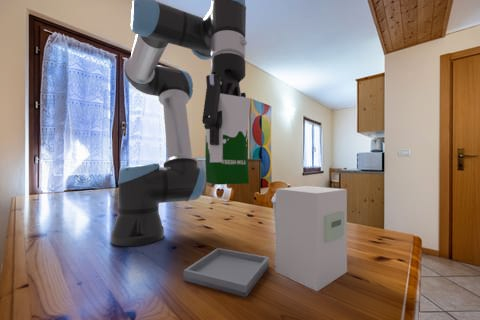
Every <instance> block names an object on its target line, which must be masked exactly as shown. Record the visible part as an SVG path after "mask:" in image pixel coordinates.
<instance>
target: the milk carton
mask: <svg viewBox="0 0 480 320" xmlns="http://www.w3.org/2000/svg"><path fill="white" fill-rule="evenodd" d="M251 102H252V98H250V97H246V98H245V97H239V96H233V95H227V94H221V93H220V97H219V105H218V111H222V125H221V128H219V129H223V162H210V129H205V150H204V151H205V153H204V154H205V155H204V156H205V160H204V161H205V183H208V184H213V185H221V186H222V185H245V184H247V185H249V184H250V178H249V177H250V176H249V175H250V173H249V118H250V117H249V115H250V109H251ZM209 117H210V116H209Z"/></svg>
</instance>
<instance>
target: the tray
mask: <svg viewBox="0 0 480 320" xmlns="http://www.w3.org/2000/svg"><path fill="white" fill-rule="evenodd" d="M269 267H270V257H268V256H264V255H258V254H254V253H247V252H242V251H237V250H232V249H226V248H221V247H216V249H214V250H212V251H211V252H209V253H207V254H206V255H205V256H202V258H200V259H199V260H197V261H196V262H194V263H193V264H191V265H189V266H188V267H187V268H185V269H183V279H182V280H183V281H184V282H188V283H191V284H196V285H199V286H203V287H207V288H211V289H215V290H218V291H222V292H224V293H225V292H226V293H229V294H233V295H236V296H240V297H243V298H247V296H248V295H249V294H250V293H251V291H252V290H253V288H254V287H256V284H257V283H258V282H259V280H260V279H261V278H262V276H263V275H264V273H265V272H266V270H267V269H268V268H269Z"/></svg>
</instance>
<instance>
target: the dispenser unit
mask: <svg viewBox="0 0 480 320" xmlns="http://www.w3.org/2000/svg"><path fill="white" fill-rule="evenodd" d="M275 193H276V233H275V273H277V274H280V275H281V276H284V277H286V278H287V279H290V280H291V281H294V282H296V283H298V284H301V285H303V286H304V287H307V288H309V289H311V290H313V291H315V292H319V291H320V290H322V289H324V288H325V287H326V286H328V285H330V284H331V283H333V282H334V281H335V280H337V279H339V278H340V277H341V276H343V275H345V274H346V273H348V214H347V213H348V212H347V211H348V207H347V206H348V203H347V202H348V201H347V200H348V197H347V196H348V189H346V188H334V187H324V186H311V185H303V186H291V187H281V188H280V187H279V188H275Z"/></svg>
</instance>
